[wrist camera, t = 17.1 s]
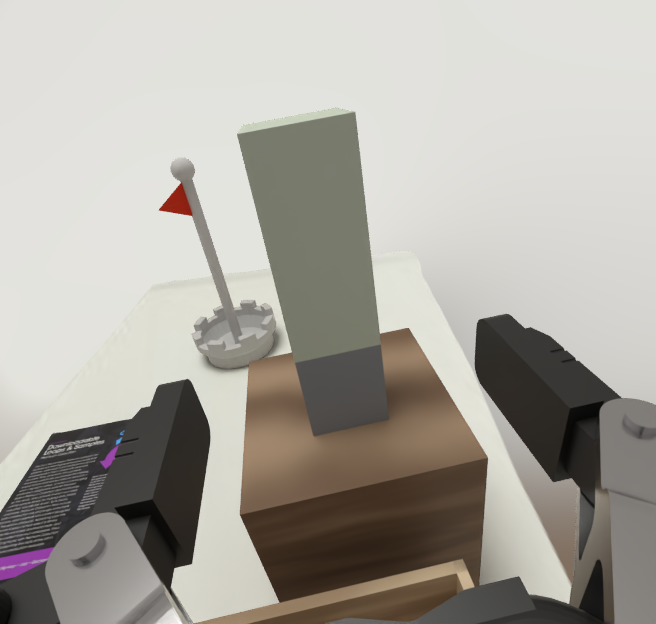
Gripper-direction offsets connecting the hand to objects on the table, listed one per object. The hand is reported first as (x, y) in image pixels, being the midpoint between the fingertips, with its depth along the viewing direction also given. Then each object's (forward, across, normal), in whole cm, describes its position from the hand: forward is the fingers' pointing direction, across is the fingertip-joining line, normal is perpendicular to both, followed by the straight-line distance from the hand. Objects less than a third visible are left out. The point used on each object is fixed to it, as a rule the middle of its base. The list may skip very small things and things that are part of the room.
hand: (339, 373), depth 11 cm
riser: (+12, -1, +28) cm, 31 cm away
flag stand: (+47, +12, +29) cm, 56 cm away
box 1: (+22, +29, +29) cm, 47 cm away
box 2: (+12, -1, +12) cm, 17 cm away
